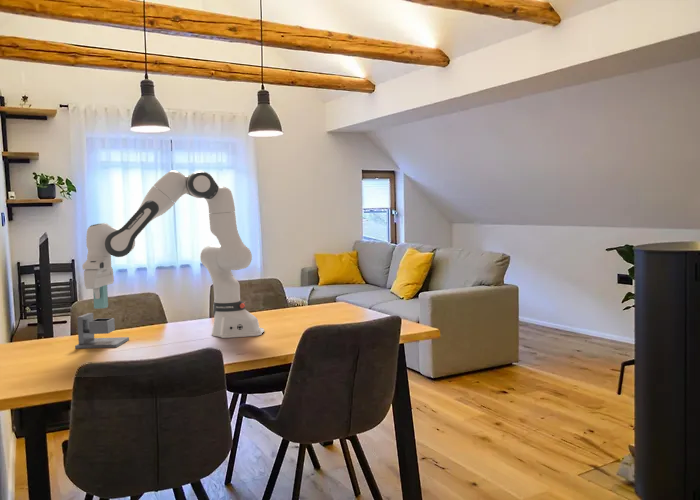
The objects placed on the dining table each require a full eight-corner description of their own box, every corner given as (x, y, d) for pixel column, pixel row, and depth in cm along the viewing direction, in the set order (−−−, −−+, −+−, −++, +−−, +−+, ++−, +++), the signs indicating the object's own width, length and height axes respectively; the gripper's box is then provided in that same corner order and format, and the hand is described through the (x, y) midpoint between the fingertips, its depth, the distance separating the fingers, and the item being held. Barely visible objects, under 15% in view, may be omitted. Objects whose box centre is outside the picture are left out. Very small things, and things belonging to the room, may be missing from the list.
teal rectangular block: (108, 306, 230) (107, 284, 230) (104, 308, 226) (103, 286, 226) (98, 307, 230) (97, 285, 229) (94, 308, 226) (93, 286, 225)
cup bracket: (129, 340, 236) (127, 311, 235) (116, 347, 222) (115, 316, 221) (90, 341, 236) (89, 312, 235) (75, 348, 222) (73, 317, 221)
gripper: (101, 261, 237) (103, 294, 238) (80, 265, 217) (81, 301, 218) (117, 261, 238) (118, 294, 238) (96, 265, 217) (98, 300, 218)
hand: (100, 297), depth 228 cm, fingers closed on teal rectangular block, 4 cm apart
